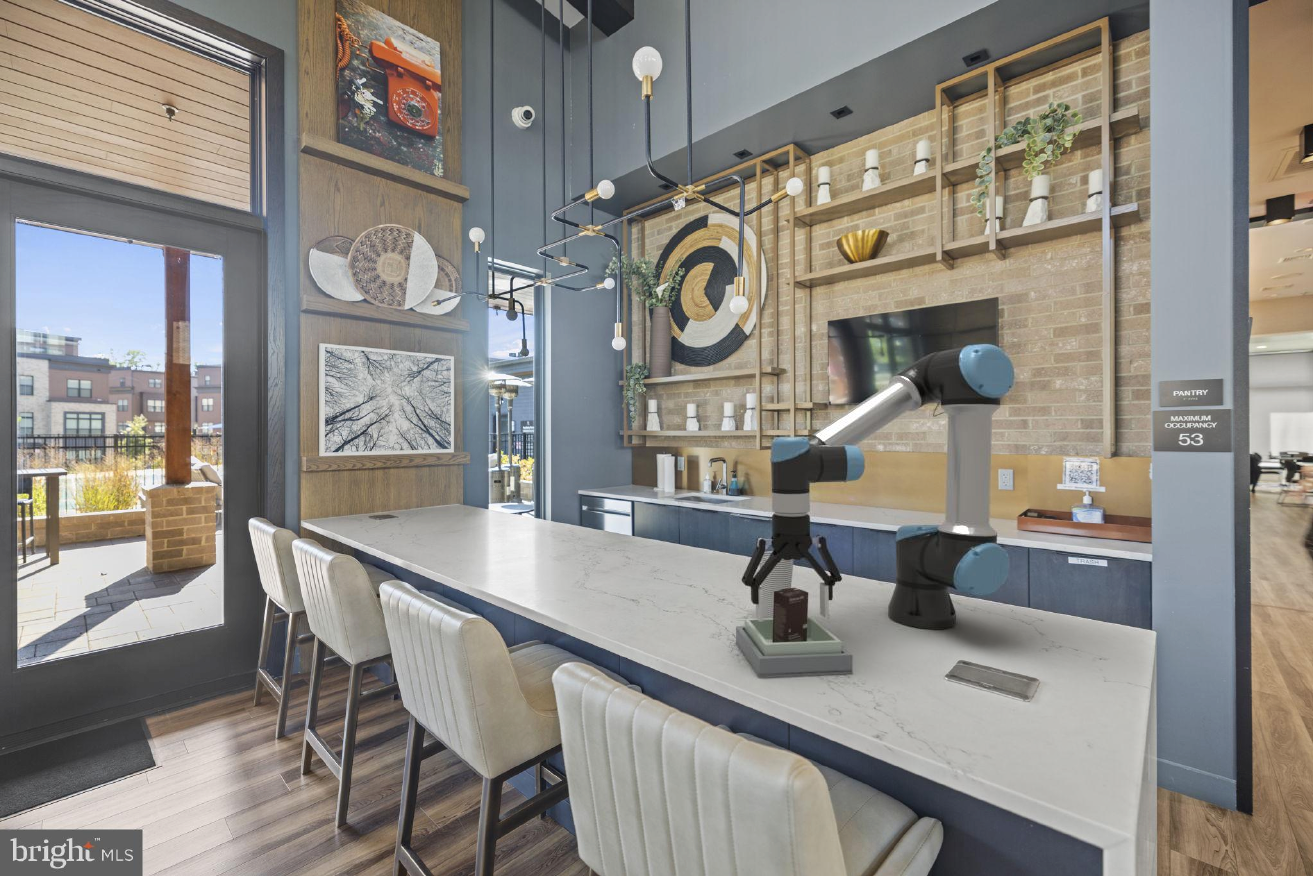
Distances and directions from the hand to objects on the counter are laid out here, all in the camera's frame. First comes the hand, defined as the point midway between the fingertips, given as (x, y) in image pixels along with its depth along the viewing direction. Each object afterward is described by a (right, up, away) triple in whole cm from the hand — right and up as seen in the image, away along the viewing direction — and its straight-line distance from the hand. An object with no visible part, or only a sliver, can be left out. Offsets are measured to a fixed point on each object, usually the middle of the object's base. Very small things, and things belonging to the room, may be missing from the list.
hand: (792, 618), depth 117 cm
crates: (0, -8, 0) cm, 8 cm away
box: (0, -7, 0) cm, 7 cm away
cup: (+2, -8, +25) cm, 27 cm away
